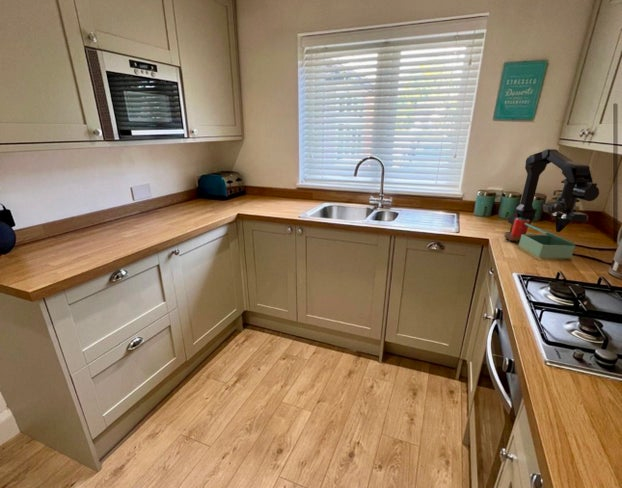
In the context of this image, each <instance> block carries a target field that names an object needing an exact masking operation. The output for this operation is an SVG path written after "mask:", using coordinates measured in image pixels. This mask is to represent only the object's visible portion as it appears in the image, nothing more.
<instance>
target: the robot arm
mask: <svg viewBox="0 0 622 488" xmlns="http://www.w3.org/2000/svg"><path fill="white" fill-rule="evenodd" d="M551 163H552V165H554V166H555V167H557V168H558V169H560V170H561V174H562V175H563V176H564V178H565V179H563V180H561V181H560V183H561V184H563V188H562V191H561V194H560V196H557V197H556V199H555V200H554V201H549V202H546V203H543V204H542V211H543V212H544V213H547V214H548V215H550V216H552V218H553V219H554V223H555V232H556V233H561V232H562V231H563V230H564V229H565V228H566V227H567V226H568V225H569V224H570V223H571V222H583V223H586V222H587V221H588V219H589V216H588V214H586V213H583V212H581V211H580V212H579V211H577V209H576V208H575V207H576V205H577V203H580V201H581V200H582V201H586V202H592V201H595V200H596V199H597V198H598V197H599V195H600V189H599V187H598V184H597V182H594V181H593V177H592V173H591V166H589V165H588V164H585V163H583V162H577V161H574V160H572V159H571V158H569V157H568V156H566V155H564V154H563V153H561V152H560V151H559V150H558V149H556V148H555V149H554V148H547V149H544V150H542V151H539V152H537V153H534V154H530V155H528V157H527V158H526V160H525V165H524V168H525V171H526V179H525V183H524V187H523V192H522V195H521V200H520V204H519V205H518V206H517V207H516V208H514V209H515V210H514V212H513V214H511V215H509V217H508V218H507V223H508V224H510V229H509V231H507V232H505V233H511V232H512V228H513V224H514V220H515V218H526V219H529V220H530V222H529V224H530V225H531V223H532V222H533V221H534V218H536V212H537V209H536V208H535V207H534V206H533V203H534V201H535V196H536V192H537V188H538V183H539V180H540V176H541V174H542V173H543V172H544V171H545V170H546V168H547V166H548V165H549V164H551Z"/></svg>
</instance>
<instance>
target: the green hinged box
mask: <svg viewBox="0 0 622 488" xmlns="http://www.w3.org/2000/svg"><path fill="white" fill-rule="evenodd" d="M518 247H520V248H521V249H523V250H525V251H527V252H528V253H530V254H532V255H533V256H534V257H537V258H539V259H572V256H573V255H574V251H575V248H576V245H575V246H574V245H571V244H569V243H566V242H564V241H561V240H559V239H556V238H554V237H551V236H548V235H546V234H530V233H529V234H527V233H526V234H522V235H521V239H520V242H519V244H518Z"/></svg>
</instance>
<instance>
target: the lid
mask: <svg viewBox="0 0 622 488" xmlns="http://www.w3.org/2000/svg"><path fill="white" fill-rule="evenodd" d="M525 225H527V226H528V228H531V229H533V230H535V231H537V232H540V233H542V234H543V235H548V236H551V237H554V238H556V239H559V240H561V241H564V242H566V243H569V244H571V245H574V246H575V247H576V245H577V244H576V243H574V242H572V241H570V240H568V239H566V238H564V237H562V236H560V235H557V234H555V233H553V232H550V231H547V230H545V229H542V228H540V227H537V226H535V225H532V224H531V223H530V224H527V223H525Z"/></svg>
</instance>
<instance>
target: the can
mask: <svg viewBox="0 0 622 488" xmlns="http://www.w3.org/2000/svg"><path fill="white" fill-rule="evenodd" d="M529 222H530V220H529V219H526V218H515V220H514V224H513V228H512V232H511V235H512V236H514V237H520V238H521V235H522V234H527V232H528V229H529V226H527V225H525V223H527V224H529Z"/></svg>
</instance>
